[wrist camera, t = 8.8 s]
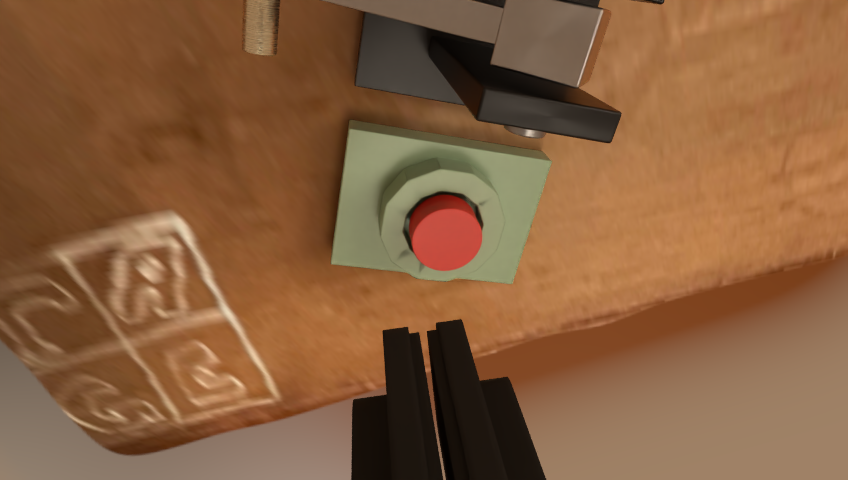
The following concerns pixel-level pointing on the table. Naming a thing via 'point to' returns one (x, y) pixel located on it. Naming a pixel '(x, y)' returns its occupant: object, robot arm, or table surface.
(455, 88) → the bracket
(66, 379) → the table surface
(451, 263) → the button
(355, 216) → the button box
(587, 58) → the lever
